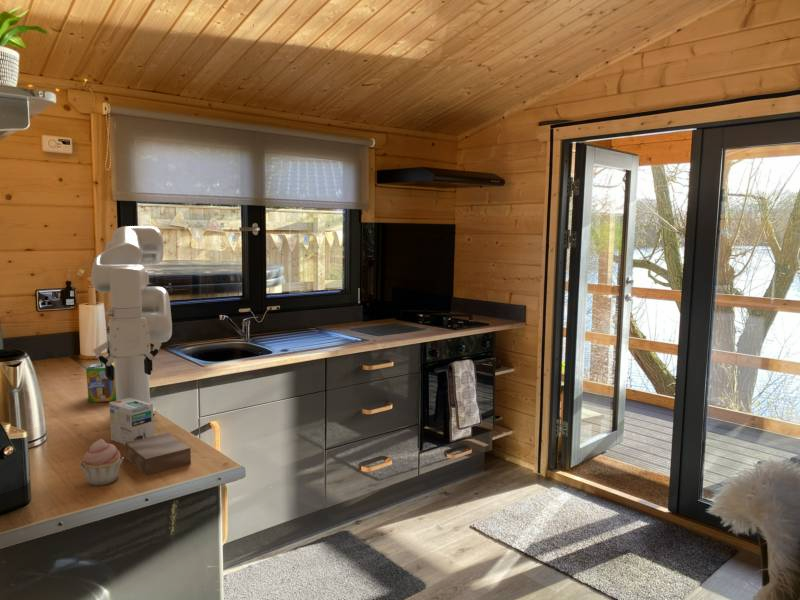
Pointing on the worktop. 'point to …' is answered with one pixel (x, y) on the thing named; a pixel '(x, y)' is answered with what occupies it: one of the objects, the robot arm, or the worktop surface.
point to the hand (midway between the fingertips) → (129, 376)
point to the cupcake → (101, 463)
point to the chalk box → (100, 384)
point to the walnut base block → (157, 453)
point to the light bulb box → (131, 420)
